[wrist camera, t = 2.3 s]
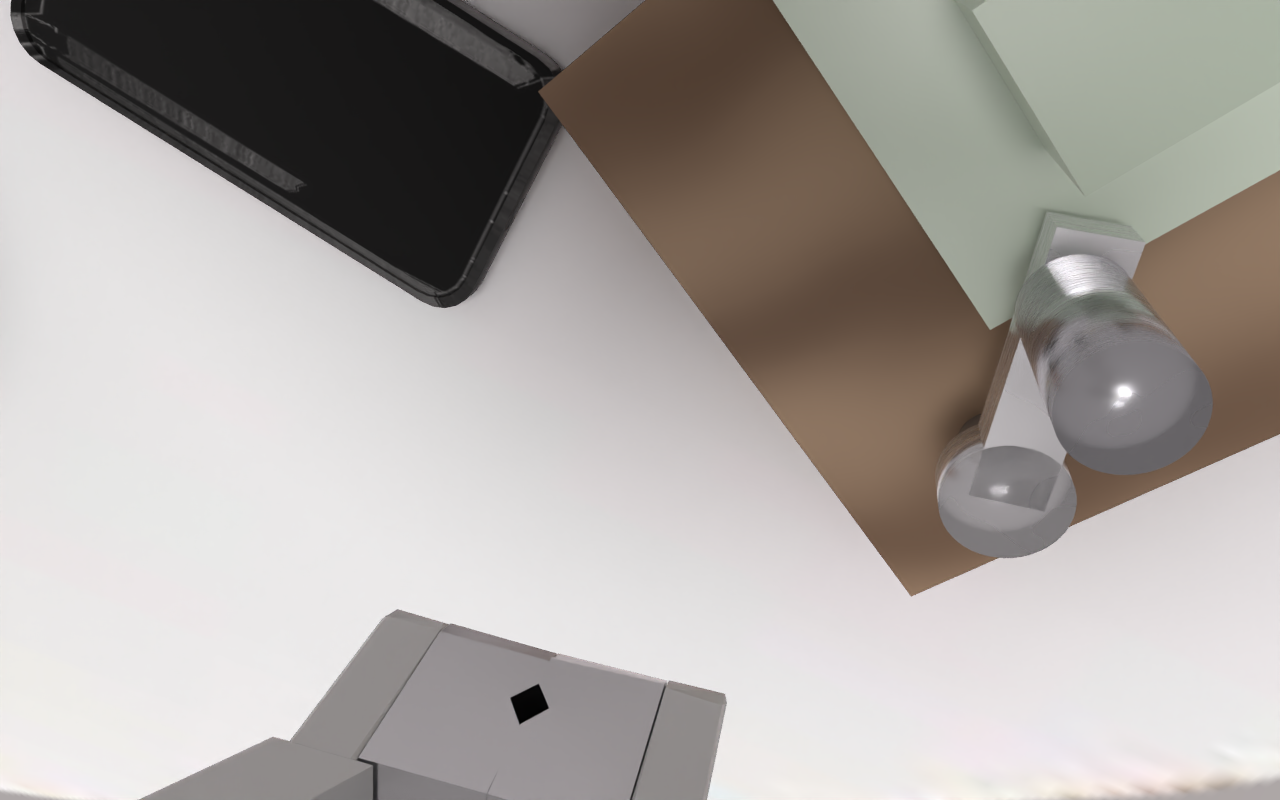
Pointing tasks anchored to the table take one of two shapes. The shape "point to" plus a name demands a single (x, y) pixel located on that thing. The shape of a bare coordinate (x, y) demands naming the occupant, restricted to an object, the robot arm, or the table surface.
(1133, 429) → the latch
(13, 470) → the table surface
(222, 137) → the phone
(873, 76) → the cover
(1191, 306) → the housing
